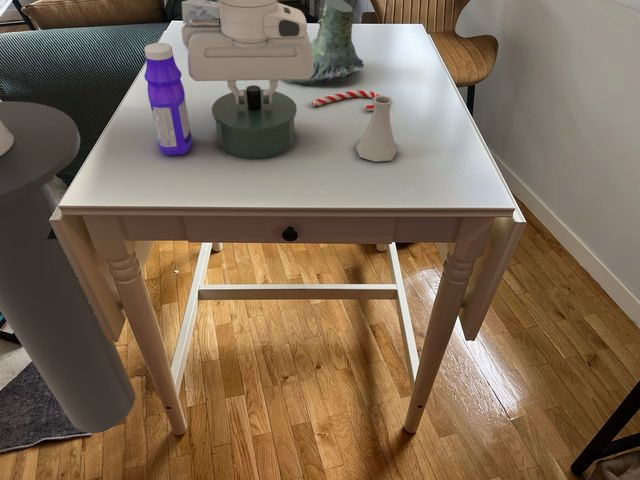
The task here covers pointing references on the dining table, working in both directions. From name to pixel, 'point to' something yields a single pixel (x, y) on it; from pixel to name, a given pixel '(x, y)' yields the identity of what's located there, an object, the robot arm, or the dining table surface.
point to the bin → (256, 141)
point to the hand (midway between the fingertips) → (254, 102)
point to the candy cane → (346, 95)
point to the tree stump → (333, 47)
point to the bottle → (167, 100)
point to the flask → (378, 133)
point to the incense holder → (199, 10)
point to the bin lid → (254, 111)
